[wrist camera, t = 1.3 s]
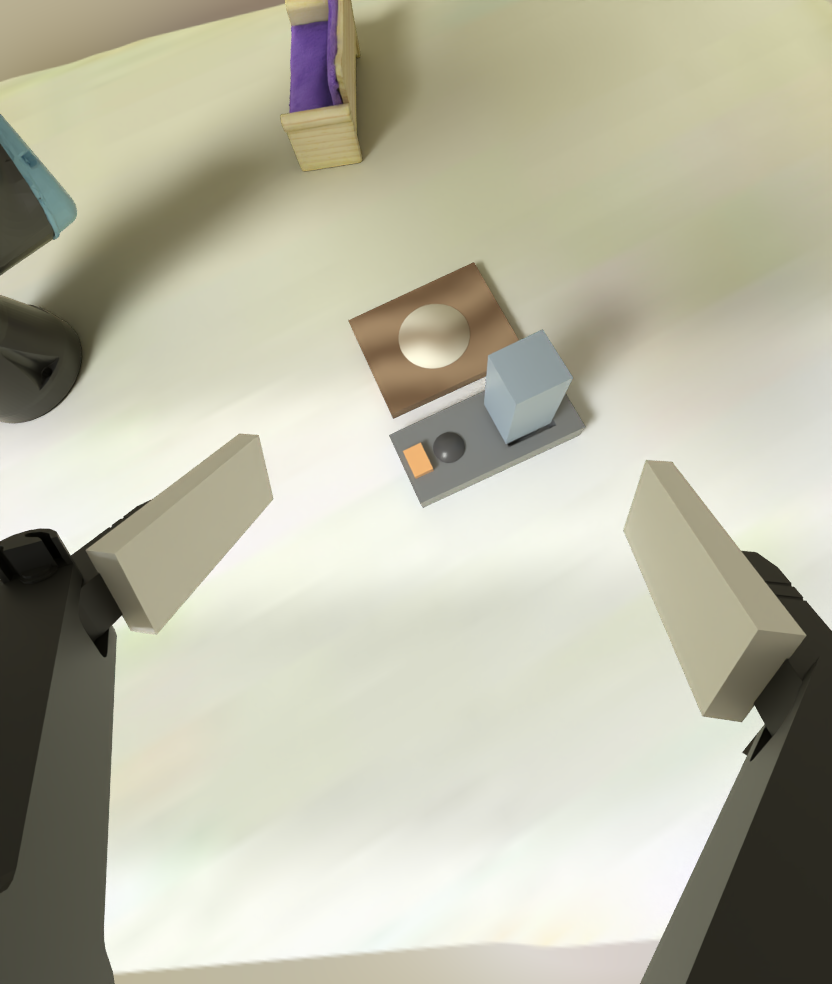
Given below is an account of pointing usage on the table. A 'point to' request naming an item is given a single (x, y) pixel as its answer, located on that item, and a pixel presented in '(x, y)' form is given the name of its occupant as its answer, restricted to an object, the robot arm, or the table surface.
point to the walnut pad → (432, 339)
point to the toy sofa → (323, 84)
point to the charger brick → (525, 386)
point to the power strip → (471, 447)
